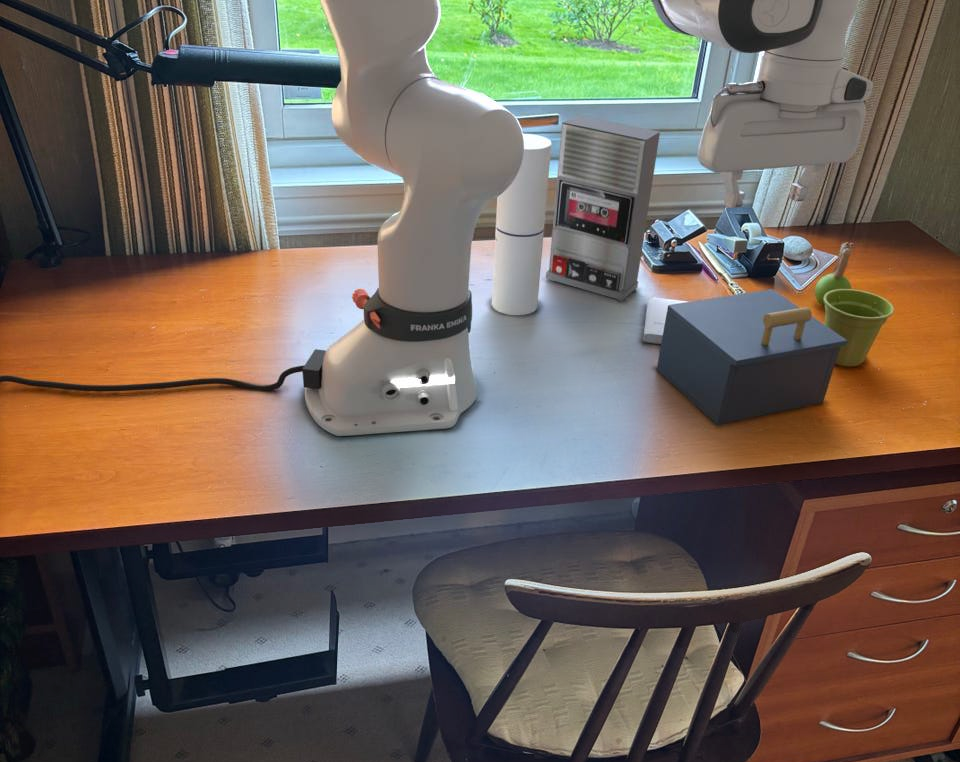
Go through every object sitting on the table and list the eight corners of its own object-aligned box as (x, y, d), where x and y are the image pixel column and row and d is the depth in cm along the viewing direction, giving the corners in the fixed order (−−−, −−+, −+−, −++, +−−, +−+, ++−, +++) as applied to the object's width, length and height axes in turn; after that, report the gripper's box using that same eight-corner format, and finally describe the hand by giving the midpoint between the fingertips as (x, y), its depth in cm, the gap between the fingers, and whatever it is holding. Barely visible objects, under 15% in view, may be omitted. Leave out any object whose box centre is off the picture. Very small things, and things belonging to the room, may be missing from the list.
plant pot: (800, 340, 137) (815, 287, 131) (862, 342, 137) (879, 289, 132) (819, 372, 129) (836, 316, 124) (885, 374, 129) (904, 319, 124)
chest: (823, 402, 122) (841, 343, 117) (716, 425, 117) (731, 363, 112) (756, 350, 133) (770, 294, 128) (656, 369, 128) (666, 310, 123)
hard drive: (699, 312, 143) (698, 349, 133) (646, 305, 144) (642, 342, 134) (701, 302, 142) (700, 339, 132) (648, 296, 143) (644, 332, 133)
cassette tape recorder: (544, 280, 150) (558, 123, 135) (561, 268, 154) (577, 114, 139) (621, 302, 144) (644, 141, 129) (637, 289, 149) (661, 131, 134)
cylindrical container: (506, 318, 138) (516, 151, 123) (483, 299, 143) (491, 136, 128) (546, 310, 141) (561, 145, 126) (522, 291, 146) (534, 131, 131)
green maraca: (810, 313, 144) (831, 240, 137) (810, 296, 149) (830, 225, 142) (846, 318, 143) (868, 246, 136) (845, 302, 148) (867, 230, 141)
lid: (846, 346, 116) (857, 310, 113) (735, 366, 111) (743, 329, 108) (770, 294, 128) (779, 260, 125) (666, 310, 123) (673, 275, 120)
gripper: (733, 91, 95) (706, 219, 104) (885, 83, 102) (849, 205, 110) (700, 76, 100) (677, 200, 108) (848, 70, 107) (816, 188, 115)
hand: (765, 202), depth 109 cm, fingers open, 8 cm apart
